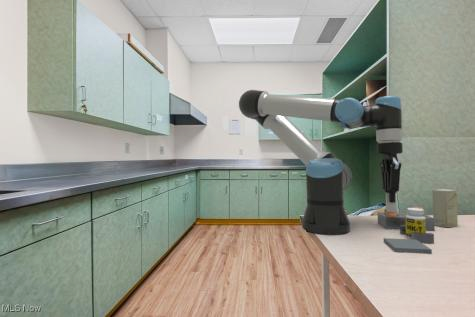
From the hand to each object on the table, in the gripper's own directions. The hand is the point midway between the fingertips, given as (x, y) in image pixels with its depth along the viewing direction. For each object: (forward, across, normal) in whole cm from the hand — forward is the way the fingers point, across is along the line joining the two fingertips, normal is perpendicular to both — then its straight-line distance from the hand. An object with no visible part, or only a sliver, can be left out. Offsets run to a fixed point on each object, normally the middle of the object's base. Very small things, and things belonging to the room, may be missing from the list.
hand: (391, 211), depth 87 cm
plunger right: (+3, 0, -8) cm, 8 cm away
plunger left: (+4, 0, 0) cm, 4 cm away
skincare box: (+5, +4, -18) cm, 19 cm away
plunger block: (+5, 0, -4) cm, 6 cm away
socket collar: (+5, -13, -2) cm, 14 cm away
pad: (+5, -22, +4) cm, 23 cm away
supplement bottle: (+5, -13, -2) cm, 14 cm away
